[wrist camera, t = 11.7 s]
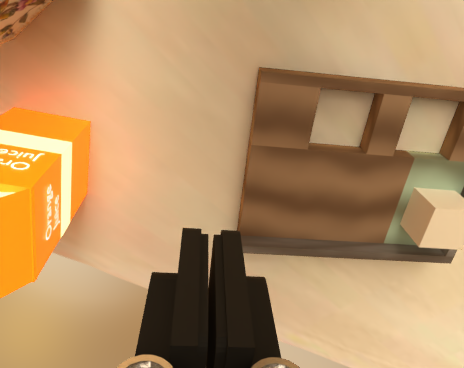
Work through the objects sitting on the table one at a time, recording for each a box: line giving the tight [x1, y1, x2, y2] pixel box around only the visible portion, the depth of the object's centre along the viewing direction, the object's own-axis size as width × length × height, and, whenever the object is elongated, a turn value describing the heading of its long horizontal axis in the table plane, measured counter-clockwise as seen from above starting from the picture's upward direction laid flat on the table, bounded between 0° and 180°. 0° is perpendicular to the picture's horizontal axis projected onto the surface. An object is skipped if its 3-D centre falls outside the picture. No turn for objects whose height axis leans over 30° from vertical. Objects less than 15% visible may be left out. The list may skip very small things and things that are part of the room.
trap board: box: [237, 67, 464, 263], centre depth 41 cm, size 20×26×4 cm
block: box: [400, 187, 464, 250], centre depth 41 cm, size 5×5×4 cm
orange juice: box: [0, 107, 91, 298], centre depth 31 cm, size 8×9×20 cm
